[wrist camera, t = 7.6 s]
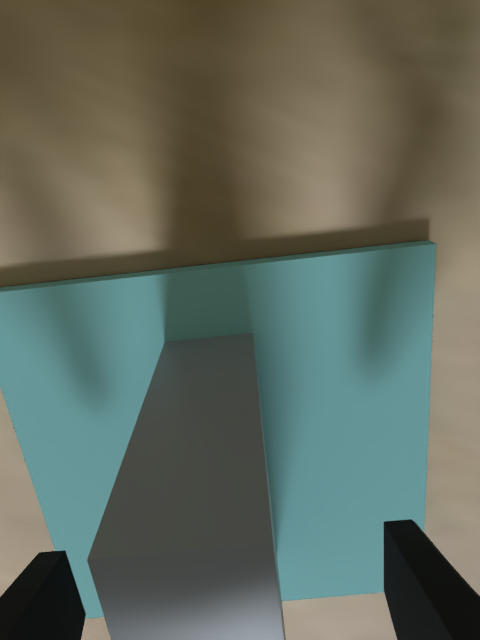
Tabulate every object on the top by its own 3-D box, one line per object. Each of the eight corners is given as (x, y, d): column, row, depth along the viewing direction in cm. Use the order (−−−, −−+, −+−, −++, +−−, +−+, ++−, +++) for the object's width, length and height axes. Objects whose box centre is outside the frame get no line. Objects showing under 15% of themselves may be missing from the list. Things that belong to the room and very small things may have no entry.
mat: (428, 240, 12) (435, 244, 12) (416, 575, 16) (421, 588, 16) (-21, 289, 12) (-31, 295, 12) (82, 606, 17) (77, 619, 16)
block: (252, 332, 12) (273, 542, 6) (276, 555, 15) (309, 865, 9) (164, 342, 12) (87, 560, 6) (205, 561, 15) (182, 874, 9)
